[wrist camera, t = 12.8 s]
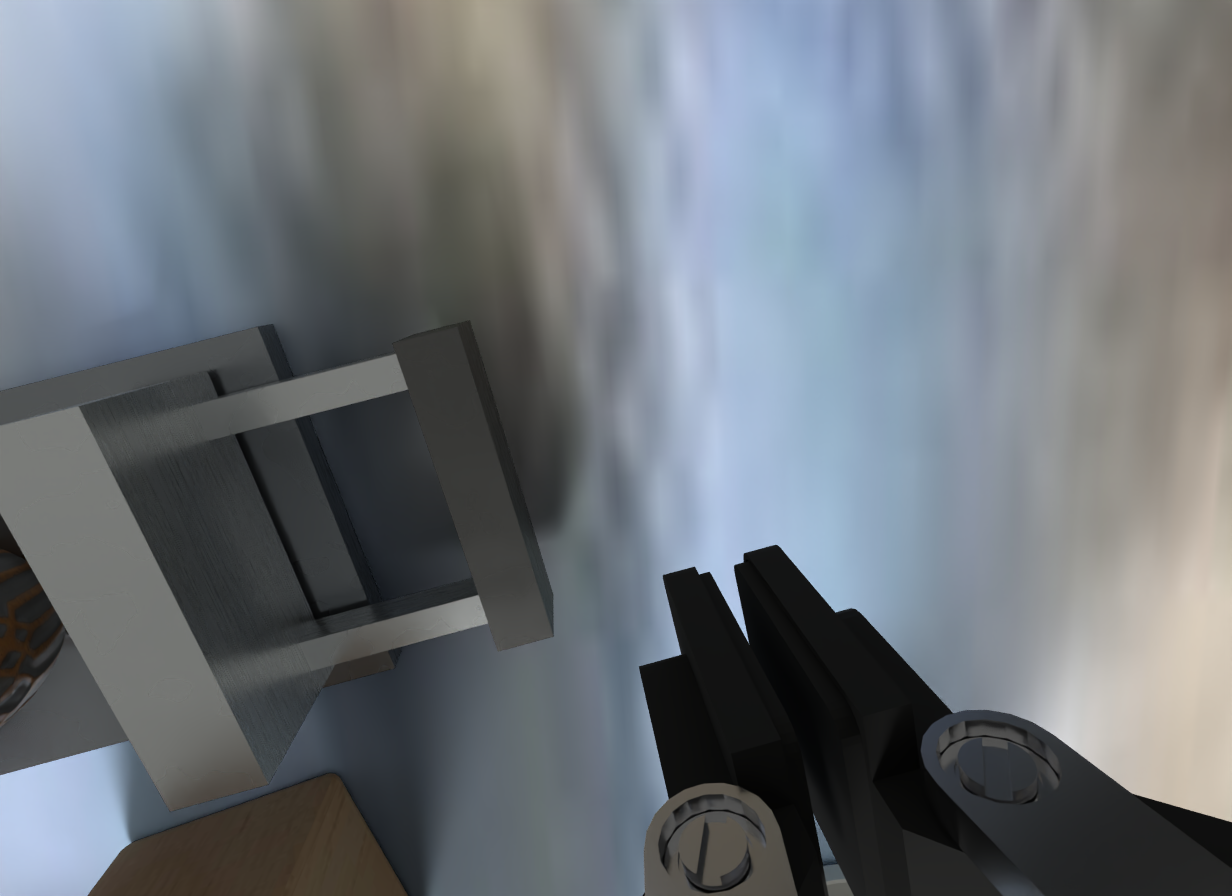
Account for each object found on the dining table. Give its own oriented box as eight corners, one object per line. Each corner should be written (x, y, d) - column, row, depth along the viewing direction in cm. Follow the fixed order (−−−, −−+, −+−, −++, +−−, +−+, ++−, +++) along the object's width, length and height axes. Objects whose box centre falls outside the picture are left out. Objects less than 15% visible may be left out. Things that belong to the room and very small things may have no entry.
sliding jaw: (465, 305, 21) (434, 316, 16) (556, 605, 25) (558, 704, 19) (119, 393, 21) (-44, 436, 15) (259, 685, 24) (169, 811, 19)
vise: (272, 324, 22) (148, 345, 15) (401, 650, 26) (348, 784, 19) (-292, 466, 22) (-687, 554, 15) (-73, 779, 26) (-303, 964, 19)
